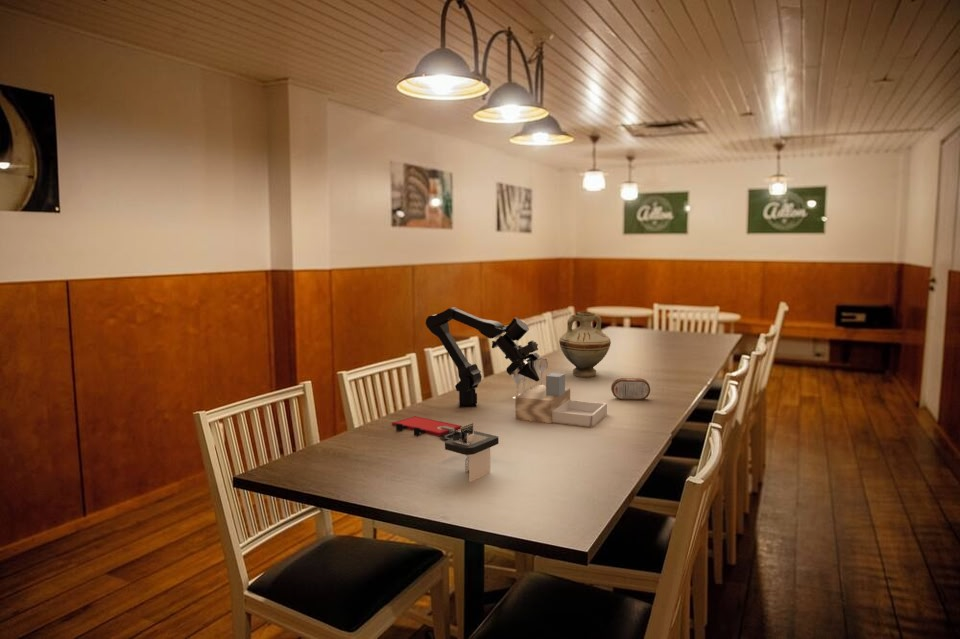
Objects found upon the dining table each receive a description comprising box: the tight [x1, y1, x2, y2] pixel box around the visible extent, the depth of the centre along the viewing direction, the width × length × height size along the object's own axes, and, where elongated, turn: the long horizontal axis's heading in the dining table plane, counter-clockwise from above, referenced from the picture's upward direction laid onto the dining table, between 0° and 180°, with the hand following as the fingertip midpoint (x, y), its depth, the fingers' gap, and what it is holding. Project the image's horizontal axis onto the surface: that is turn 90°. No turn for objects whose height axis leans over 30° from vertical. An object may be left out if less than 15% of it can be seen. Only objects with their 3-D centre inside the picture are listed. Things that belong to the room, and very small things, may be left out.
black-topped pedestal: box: [444, 422, 500, 483], centre depth 168 cm, size 28×26×13 cm
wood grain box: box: [514, 384, 571, 424], centre depth 226 cm, size 13×20×8 cm
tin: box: [610, 377, 651, 401], centre depth 246 cm, size 15×3×8 cm, turn 84°
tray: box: [552, 399, 608, 428], centre depth 220 cm, size 15×18×4 cm
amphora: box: [558, 311, 612, 378], centre depth 291 cm, size 24×24×30 cm
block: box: [545, 372, 566, 396], centre depth 223 cm, size 5×6×7 cm
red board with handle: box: [391, 416, 463, 440], centre depth 209 cm, size 30×3×15 cm
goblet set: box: [511, 357, 549, 400], centre depth 261 cm, size 28×6×13 cm, turn 150°
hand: (538, 380), depth 226 cm, fingers closed
